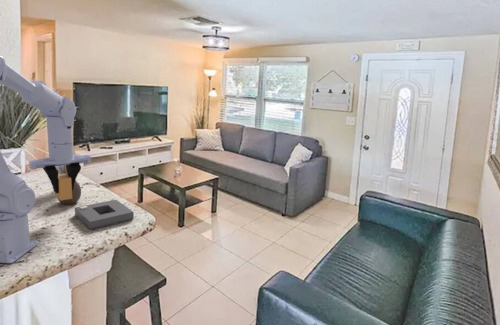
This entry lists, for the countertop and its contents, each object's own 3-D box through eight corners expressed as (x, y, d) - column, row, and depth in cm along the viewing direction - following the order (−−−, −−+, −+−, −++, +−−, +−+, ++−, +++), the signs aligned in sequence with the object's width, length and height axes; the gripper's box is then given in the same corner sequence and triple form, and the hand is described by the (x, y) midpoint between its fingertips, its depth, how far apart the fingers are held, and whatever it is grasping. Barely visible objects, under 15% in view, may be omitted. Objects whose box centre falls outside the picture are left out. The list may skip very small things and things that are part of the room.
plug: (72, 198, 90) (71, 177, 89) (60, 200, 88) (58, 179, 87) (66, 193, 93) (65, 173, 92) (55, 195, 91) (53, 175, 90)
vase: (53, 206, 100) (51, 179, 98) (60, 198, 106) (58, 173, 104) (78, 206, 102) (77, 179, 100) (83, 198, 108) (82, 173, 106)
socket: (133, 219, 95) (133, 210, 95) (90, 230, 87) (90, 220, 86) (116, 206, 104) (115, 198, 103) (75, 215, 95) (74, 206, 95)
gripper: (83, 137, 95) (85, 182, 98) (24, 141, 84) (28, 191, 88) (93, 142, 90) (95, 189, 93) (31, 146, 80) (36, 199, 83)
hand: (63, 190), depth 90 cm, fingers closed on plug, 3 cm apart
